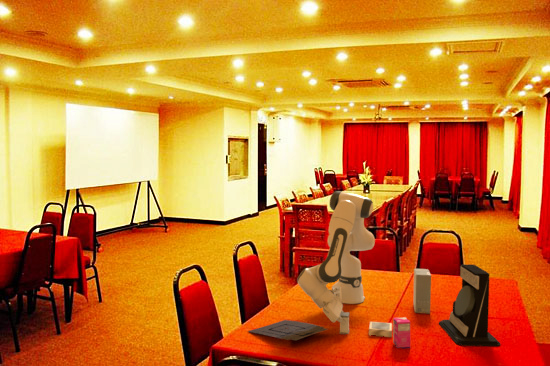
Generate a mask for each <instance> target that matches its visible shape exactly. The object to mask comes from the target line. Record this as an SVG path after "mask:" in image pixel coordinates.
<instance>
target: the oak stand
mask: <svg viewBox="0 0 550 366" xmlns="http://www.w3.org/2000/svg"><path fill="white" fill-rule="evenodd" d="M371 335H376V336H375V337H383V336H384V337H385V338H393V323H392V322H381V321H369V327H368V336H371ZM384 337H383V338H384Z"/></svg>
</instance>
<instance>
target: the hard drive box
mask: <svg viewBox="0 0 550 366" xmlns="http://www.w3.org/2000/svg"><path fill="white" fill-rule="evenodd" d="M431 289H432V274H431V272H430V270H429V269H428V268H427V269H426V268H414V269H413V297H412V298H413V300H412V301H413V302H412V304H413V309H414V313H417V314H431V300H432V299H431V298H432V297H431V294H432V293H431V292H432V291H431Z"/></svg>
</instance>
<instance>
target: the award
mask: <svg viewBox="0 0 550 366" xmlns="http://www.w3.org/2000/svg"><path fill="white" fill-rule="evenodd" d="M459 278H461V289H460V290H459V291H458V293H457V296H456V299H455V301H453V302H452V311H451V312H450V315H449V319H442V320H440V321H438V325H439V326H440V327H441V328H442V330H443V331H445V332H446V334H447V335H448V337H450V339H452V340H453V342H454V343H455V344H456V345H458V346H462V347H500V346H501V342H499V341H498V339H497V338H496V337H494V335H492V334H491V333H490V332H489V304H490V303H489V300H490V299H489V298H490V273H489V272H488V271H486V270H484V269H482V268H480V267H479V265H475V264H464V263H463V264H461V265H460V277H459Z"/></svg>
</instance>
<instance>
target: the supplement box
mask: <svg viewBox="0 0 550 366" xmlns="http://www.w3.org/2000/svg"><path fill="white" fill-rule="evenodd" d="M392 322H393V323H392V338H393V339H392V340H393V342H392V343H394V344H395V345H396V346H395V345H394V346H395V347H396V348H397V349H398V348H402V349H411V321H410V320H409V319H407V317H406V316H404V317H393V321H392Z"/></svg>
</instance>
